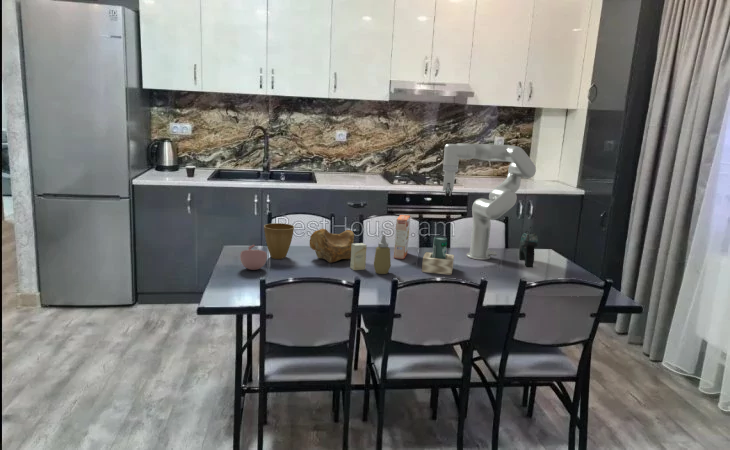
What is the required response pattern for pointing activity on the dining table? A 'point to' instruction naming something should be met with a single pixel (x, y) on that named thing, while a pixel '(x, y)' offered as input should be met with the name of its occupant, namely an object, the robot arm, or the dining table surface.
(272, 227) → the plant pot
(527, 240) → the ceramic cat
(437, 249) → the can
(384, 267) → the squeeze bottle
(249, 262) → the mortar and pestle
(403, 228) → the cracker box
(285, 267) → the dining table surface
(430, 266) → the well block
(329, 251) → the rough brown rock
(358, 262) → the skincare box
